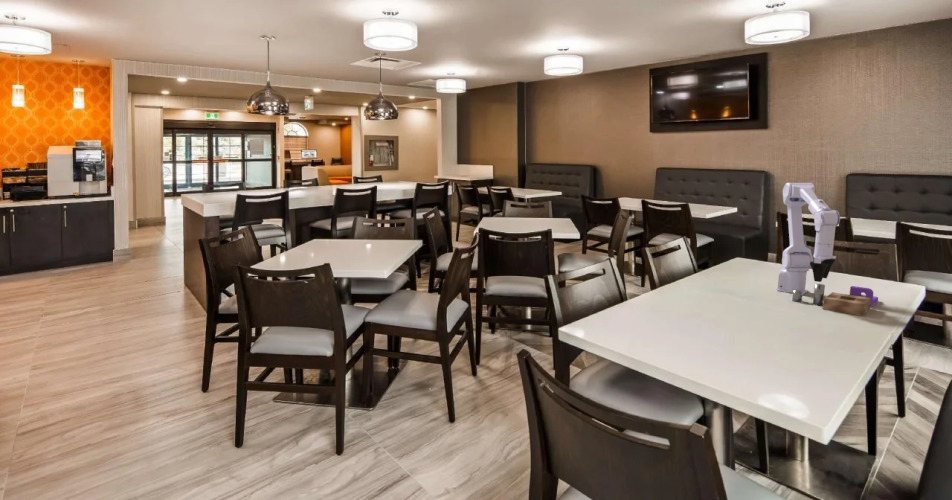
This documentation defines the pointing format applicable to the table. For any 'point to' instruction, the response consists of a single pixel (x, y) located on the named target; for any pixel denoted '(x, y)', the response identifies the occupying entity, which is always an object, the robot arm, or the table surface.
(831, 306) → the hole block
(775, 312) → the table surface
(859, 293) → the bracket
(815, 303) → the tall pin
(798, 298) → the short pin
